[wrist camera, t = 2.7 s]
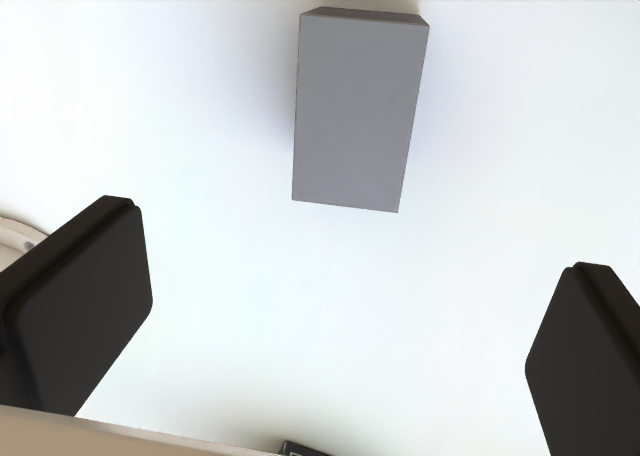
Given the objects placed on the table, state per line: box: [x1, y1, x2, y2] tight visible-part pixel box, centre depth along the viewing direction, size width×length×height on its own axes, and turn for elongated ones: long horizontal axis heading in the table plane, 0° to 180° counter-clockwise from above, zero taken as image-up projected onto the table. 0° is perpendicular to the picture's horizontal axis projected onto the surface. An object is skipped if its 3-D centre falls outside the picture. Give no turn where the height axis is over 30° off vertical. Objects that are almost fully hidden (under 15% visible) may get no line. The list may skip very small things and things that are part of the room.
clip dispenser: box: [292, 7, 430, 213], centre depth 22 cm, size 5×8×6 cm, turn 176°
